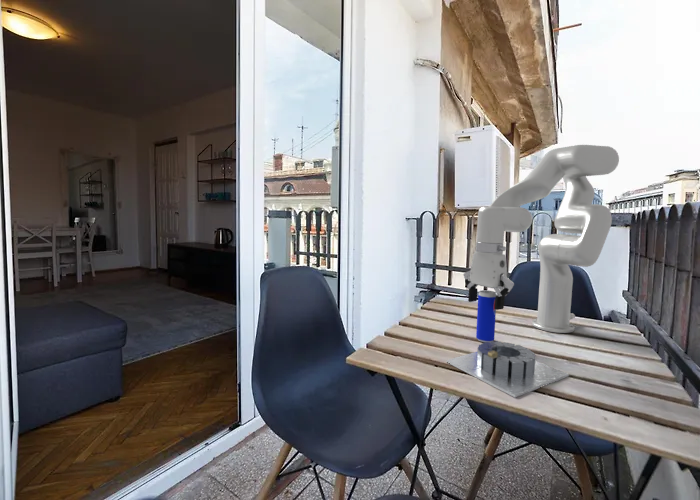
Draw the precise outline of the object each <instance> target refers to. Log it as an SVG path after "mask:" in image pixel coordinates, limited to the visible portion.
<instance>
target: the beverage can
mask: <svg viewBox="0 0 700 500" xmlns="http://www.w3.org/2000/svg"><path fill="white" fill-rule="evenodd" d="M496 296H497V293H496V292H495V290H494V291H493V290H485V289H483V290H479V291H478V293H477V312H476V313H477V315H476V334H475V335H476V336H475V337H476V339H477V340H478V341H479V342H480V343H481V342H482V343H486V342H489V343H490V342H494V340H495V332H496V316H497V312H496V311H497V310H496V309H495V297H496Z"/></svg>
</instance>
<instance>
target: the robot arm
mask: <svg viewBox="0 0 700 500" xmlns="http://www.w3.org/2000/svg"><path fill="white" fill-rule="evenodd" d="M619 162H620V156H619V153H618V152H617V150H616V149H614V148H613V147H611V146H608V145H607V146H606V145H595V144H594V145H593V144H577V145H576V144H575V145H570V146H563V147H558V148H554V149H551V150H549V151H548V152H547V153H545V154H544V155H543V156H542V158H541V159H540V160H538V163H537V164H536V165H535V166H534V167H533V169H532V170H531V171H530V172H529V173H528V175H527V176H526V177H525V178H524V179H522V180H520V181H519V182H517V183H515V184H514V185H512V186H511V187H510V188H508V189H506V190H505V191H503V192H502V193H500V194H499V195H498V196H497V197H496V198H495V199H494V200H493V202H492V203H491V204H490V205H489V206H482V207H480V208H479V209H478V213H477V225H476V226H477V227H476V238H475V239H476V240H475V241H476V242H475V243H476V244H475V251H474V252H473V256H472V260H471V265H470V270H468V271H466V272H464V273H463V274H462V275H463V278H464V283H465V284H466V285H467V289H468V297H467V298H468V299H467V301H468V303H473V302H478V292H479V291H478V288H477V287H479V286H480V287H485V288H490V289H493V290H494V292H496V297H495V309H496V311H498V310H503V309H504V307H505V299H506V298H505V297H507V295H508V294H509V293H510V292H511V291H512V289H513V288H514V286H515V283H514V282H513V280H511V279H510V278H509V277H508V268H507V257H506V254H504V252H506V250H507V247H506V246H504V240H505V232H508V233H521V232H525V231H526V230H528V229H529V228H530V227H531V225H532V223H533V216H532V213H531V212H530V211H529V210H528V209H526V208H524V207H522V206H524V205H527V204H530V203H533V202H537V201H539V200H542V199H544V198H546V197H548V196H549V195H550V194H551V193H552V191H553V190H554V188H556V186H557V185H558V183H559V182H560V181H561V180H562V179H563V182H564V187H565V188H564V189H565V191H564V194H563V198H562V200H561V202H560V205H559V208H558V209H557V213H556V214H555V218H554V223H553V224H554V227H555V229H556V230H557V231H559V232H561V234H560V233H553V234H552V233H551V234H547V235H545V236H544V237H542V238H541V239H540V241H539V244H538V256H539V264H540V266H539V267H540V269H539V270H540V271H539V288H538V304H537V315H536V316H537V317H536V318H534V319H532V320H531V325H532V326H533V327H534V328H536V329H538V330H541V331H545V332H550V333H556V334H557V333H558V334H569V333H573V332H574V331H575V328H576V327H575V326H574V325H573V324H572V323H570V321H571V320H573V319H576V315H575V314H574V313H573V312H572V313H571V306H572V296H573V292H572V291H573V283H574V276H573V272H572V270H571V268H570V266H575V267H585V268H588V267H591V266H593V265H594V264H596V262H597V261H598V259H599V258H600V255H601V252H602V250H603V247H604V245H605V242H606V240H607V238H608V235H609V232H610V230H611V226H612V223H613V222H612V221H613V218H612V213H611V210H610V209H609V208H608V207H607V206H605V205H602V204H598V203H597V204H594V203H593V201H594V198H595V188H594V187H593V185H592V184H591V182H590V181H589V179H588V178H587V177H591V176H593V177H594V176H595V177H596V176H604V175H609V174H611V173H612V172H614V171H615V170H616V169H617V167H618V165H619ZM564 233H568V234H564ZM571 234H572V235H571ZM573 234H576V235H573ZM579 234H580V235H579ZM569 265H570V266H569Z"/></svg>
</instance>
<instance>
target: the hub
mask: <svg viewBox="0 0 700 500" xmlns="http://www.w3.org/2000/svg"><path fill="white" fill-rule="evenodd" d="M515 344H516V343H512V342H505V341H503V342H501V341H493V342H490V343H489V342H486V343H485V342H482V343H480V344H479V345H478V346H477V351H473V352H471V353H468V354H464V355H461V356H456V357H453V358H449V359H447V360H446V361H445V363H447V362H448V363H447V364H449V363H450V364H449V365H451V366H453V367H455V368H457V369H459V370H461V371H462V372H464V373H466V374H469V375H470V376H472V377H475V378H476V379H478V380H480V381H482V382H484V383H485V384H487V385H489V386H491V387H493V388H496V389H498V391H499V390H500V391H501V392H503V393H505V394H507V395H509V396H511V397H513V398H514V399H515V398H517V397H521V396H522V395H526V394H528V393H531V392H533V391H535V390H537V389H541V388H542V387H541V386H543V385H546V384H548V385H550V384H549V383H551V384H553V383H555V381H556V382H558V381H560V380H562V379H565V378H568V377H569V376H570V375H569V373H568V372H564V371H562V370H560V369H557V368H555V367H552V366H550V365H547V364H546V363H542V362H540V361H537V360H536V356H537V355H536V353H535V352H533V351H532V350H531V349H530V348H529V349H528V348H527V347H525V346H523V345H519V344H516V345H515ZM552 382H553V383H552ZM546 386H547V385H546ZM540 387H541V388H540ZM543 387H544V386H543Z"/></svg>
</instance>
